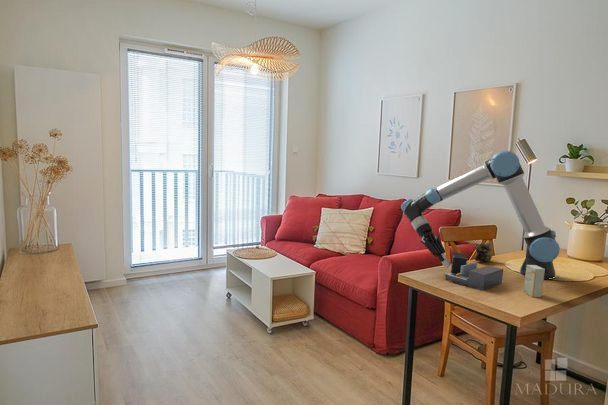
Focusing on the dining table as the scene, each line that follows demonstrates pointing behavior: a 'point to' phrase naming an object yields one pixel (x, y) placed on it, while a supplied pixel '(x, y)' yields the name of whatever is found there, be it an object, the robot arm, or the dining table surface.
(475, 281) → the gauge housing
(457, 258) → the small box
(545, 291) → the dining table surface
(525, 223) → the robot arm
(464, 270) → the blue-grey flat panel
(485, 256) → the seashell
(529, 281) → the skincare box
